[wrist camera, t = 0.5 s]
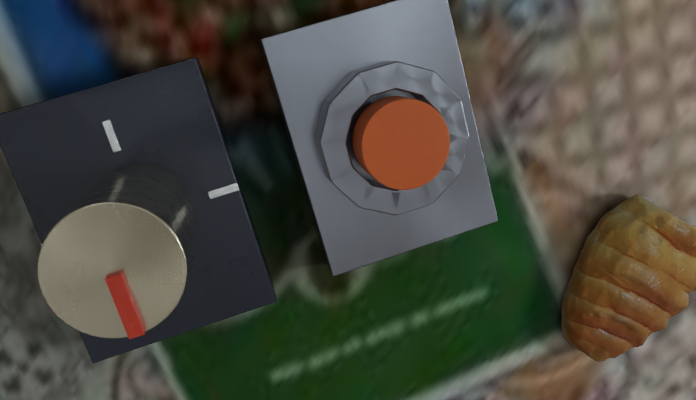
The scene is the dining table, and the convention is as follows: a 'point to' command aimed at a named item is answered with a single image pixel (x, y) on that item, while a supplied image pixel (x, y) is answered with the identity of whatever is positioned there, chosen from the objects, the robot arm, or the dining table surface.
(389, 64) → the block
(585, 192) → the dining table surface
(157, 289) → the dial
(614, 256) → the pastry
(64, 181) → the panel
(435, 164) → the button
